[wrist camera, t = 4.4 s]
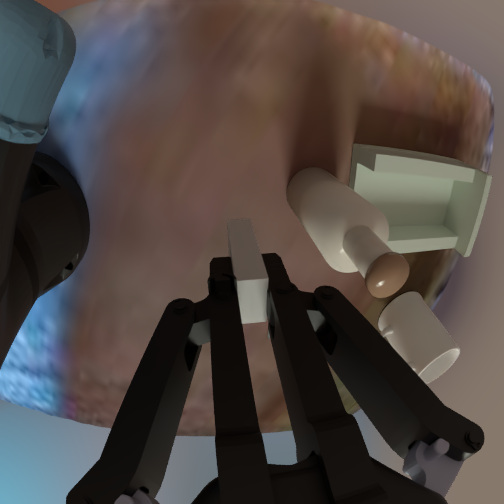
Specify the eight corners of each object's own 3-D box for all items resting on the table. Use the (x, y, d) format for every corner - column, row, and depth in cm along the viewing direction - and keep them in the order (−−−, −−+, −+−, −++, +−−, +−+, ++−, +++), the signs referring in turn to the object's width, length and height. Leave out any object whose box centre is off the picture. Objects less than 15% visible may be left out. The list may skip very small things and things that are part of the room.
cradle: (341, 237, 30) (367, 269, 24) (353, 143, 24) (389, 158, 19) (440, 231, 31) (469, 256, 26) (456, 159, 26) (492, 175, 21)
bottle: (285, 217, 28) (341, 319, 15) (287, 166, 25) (360, 240, 13) (333, 215, 28) (409, 306, 16) (338, 167, 25) (434, 235, 13)
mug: (352, 333, 39) (383, 397, 29) (376, 289, 35) (420, 354, 25) (405, 330, 41) (438, 381, 31) (429, 291, 37) (470, 342, 27)
